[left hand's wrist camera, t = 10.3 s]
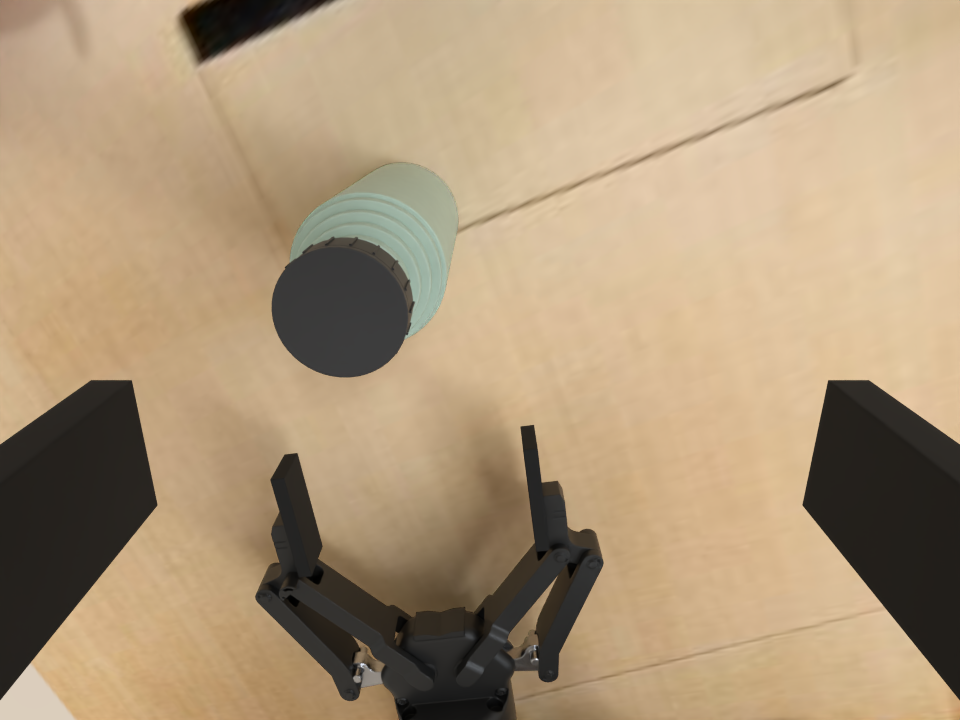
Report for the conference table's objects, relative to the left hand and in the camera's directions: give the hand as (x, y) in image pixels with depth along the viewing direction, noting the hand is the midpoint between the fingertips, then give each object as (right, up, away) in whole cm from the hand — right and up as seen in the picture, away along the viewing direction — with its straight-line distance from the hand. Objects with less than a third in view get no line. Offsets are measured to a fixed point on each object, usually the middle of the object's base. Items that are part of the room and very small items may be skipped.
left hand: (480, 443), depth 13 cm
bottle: (-4, +10, +25) cm, 27 cm away
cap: (-4, +3, +8) cm, 10 cm away
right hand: (-4, -3, +23) cm, 24 cm away
